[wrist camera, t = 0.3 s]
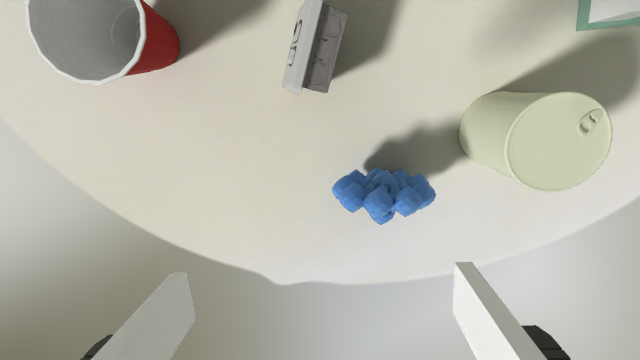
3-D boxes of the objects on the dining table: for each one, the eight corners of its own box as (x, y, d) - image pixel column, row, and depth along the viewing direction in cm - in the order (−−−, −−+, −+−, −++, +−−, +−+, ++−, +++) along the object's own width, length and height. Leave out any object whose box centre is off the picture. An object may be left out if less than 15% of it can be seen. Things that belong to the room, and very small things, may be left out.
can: (551, 129, 39) (640, 145, 27) (489, 179, 41) (547, 214, 29) (504, 74, 37) (577, 66, 26) (443, 129, 40) (485, 144, 28)
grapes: (332, 205, 43) (329, 246, 32) (334, 156, 41) (331, 182, 30) (418, 209, 43) (447, 252, 31) (423, 160, 41) (457, 187, 29)
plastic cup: (207, 5, 37) (147, -33, 26) (194, 96, 40) (136, 98, 29) (117, -19, 37) (18, -68, 26) (111, 75, 40) (20, 68, 29)
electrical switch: (300, 6, 37) (297, -18, 28) (342, 19, 37) (352, 0, 29) (282, 87, 39) (273, 88, 31) (321, 98, 40) (325, 102, 31)
